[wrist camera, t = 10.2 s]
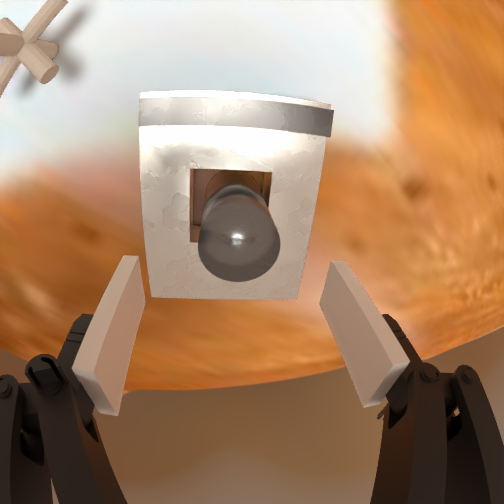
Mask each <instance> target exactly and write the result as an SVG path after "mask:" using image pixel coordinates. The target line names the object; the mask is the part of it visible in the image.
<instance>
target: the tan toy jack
mask: <svg viewBox="0 0 504 504" xmlns="http://www.w3.org/2000/svg"><path fill="white" fill-rule="evenodd" d="M67 3H68V1H66V0H48V1H47V2H46V3H45V4H44V5H43V7H42V8H41V9H40V10H39V11H38V13H37V14H36V15H35V16H34V17H33V19H32V20H31V21H30V23H29V24H28V25H27V27H26V28H25V29H24V31H23V32H22V31H21V30H20V29H19V28H18V27H17V26H16V25H15V24H14V23H13V22H12V21H10V20H9V19H8V18H3V19H1V20H0V56H6V57H5V59H4V60H3V62H2V64H1V65H0V97H1V95H2V93H3V92H4V90H5V88H6V86H7V84H8V83H9V81H10V79H11V78H12V76H13V74H14V73H15V71H16V69H17V68H18V66H19V65H20V63H22V64H23V65H24V66H25V67H26V68H27V69H28V70H29V71H30V72H31V73H32V74H33V75H34V76H35V77H36V78H37V79H38V80H39V81H40V82H41V83H42V84H46V83H48V82H49V81H51V80H52V79H53V78H54V77H55V75H56V74H57V72H58V70H59V66H58V65H57V64H56V63H54V62H53V61H52V59H53V58H54V57H55V56H56V55H57V53H58V50H59V47H58V45H57V44H56V43H52V42H48V41H43V40H39V39H38V38H39V36H40V35H41V34H42V32H43V31H44V30H45V29H46V27H47V26H48V25H49V24H50V22H51V21H52V20H53V19H54V18H55V17H56V15H57V14H58V13H59V12H60V11H61V10H62V9H63V8H64V6H65V5H66V4H67Z"/></svg>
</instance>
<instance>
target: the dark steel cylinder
mask: <svg viewBox="0 0 504 504" xmlns="http://www.w3.org/2000/svg"><path fill="white" fill-rule="evenodd" d="M280 245H281V243H280V236H279V233H278V231H277V228H276V226H275V224H274V221H273V219H272V217H271V214H270V212H269V210H268V207H267V205H266V203H265V201H264V198H263V196H262V194H261V191H260V189H259V187H258V185H257V183H256V181H255V180H254V178H253V177H252V176H251V175H250V174H248V173H247V172H245V171H242V170H224V171H222V172H219V173H218V174H216V175H215V176H214V177H213V178H212V179H211V181H210V182H209V184H208V186H207V190H206V195H205V201H204V207H203V213H202V219H201V226H200V232H199V239H198V253H199V257H200V260H201V262H202V263H203V265H204V266H205V268H206V269H207V270H208V271H209V272H210V273H212V274H213V275H214V276H216V277H218V278H220V279H222V280H226V281H231V282H245V281H250V280H253V279H256V278H258V277H260V276H262V275H263V274H265V273H266V272H267V271H268V270H269V269H270V268H271V267H272V266H273V265H274V263H275V262H276V260H277V258H278V256H279V252H280Z"/></svg>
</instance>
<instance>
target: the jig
mask: <svg viewBox="0 0 504 504" xmlns="http://www.w3.org/2000/svg"><path fill="white" fill-rule="evenodd" d="M330 107H331V104H326V103H320V102H315V101H309V100H303V99H296V98H289V97H282V96H274V95H264V94H254V93H242V92H225V91H159V92H142V93H141V98H140V104H139V127H140V184H141V204H142V218H143V231H144V242H145V251H146V260H147V269H148V276H149V284H150V291H151V297H163V298H190V299H246V300H270V299H297V296H298V291H299V287H300V282H301V278H302V273H303V268H304V264H305V259H306V254H307V249H308V244H309V239H310V234H311V229H312V223H313V218H314V212H315V207H316V201H317V195H318V190H319V184H320V178H321V171H322V165H323V158H324V152H325V145H326V138H327V137H330V136H331V128H332V121H333V113H334V110H330ZM194 169H228V170H248V171H263V172H265V174H264V183H263V193H262V196H263V198H264V201H265V203H266V205H267V207H268V210H269V212H270V214H271V217H272V219H273V221H274V224H275V226H276V228H277V231H278V233H279V236H280V243H281V245H280V252H279V256H278V258H277V260H276V262H275V263H274V265H273V266H272V267H271V268H270V269H269V270H268V271H267V272H266V273H265V274H263V275H262V276H260V277H258V278H256V279H253V280H250V281H245V282H231V281H226V280H222V279H220V278H218V277H216V276H214V275H213V274H212V273H210V272H209V271H208V270H207V269H206V268H205V266H204V265H203V263H202V262H201V260H200V257H199V253H198V239H199V232H200V226H201V225H193V188H194Z"/></svg>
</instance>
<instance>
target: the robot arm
mask: <svg viewBox="0 0 504 504" xmlns="http://www.w3.org/2000/svg"><path fill="white" fill-rule="evenodd" d="M145 303H146V301H145V295H144V289H143V282H142V276H141V269H140V261H139V256H128V255H124V256H123V258H122V259H121V261H120V263H119V265H118V267H117V269H116V271H115V273H114V275H113V277H112V278H111V280H110V282H109V284H108V286H107V288H106V290H105V292H104V295H103V297H102V299H101V301H100V303H99V305H98V307H97V309H96V311H95V314H94V315H90V314H82V315H81V316H80V317H79V318H78V319H77V320H76V321H75V322H74V323H73V325H72V327H71V330H70V333H69V334H68V336H67V338H66V341H65V342H64V344H63V347H62V349H61V351H60V353H59V356H58V358H57V359H56V358H55V357H54V356H51V355H49V354H40V355H38V356H35V357H34V358H33V359H31V360H30V361H29V362H28V364H27V366H26V369H25V375H26V376H27V378H28V379H29V380H30V382H31V383H19V382H18V381H17V380H16V379H15V378H14V377H13V376H11V375H8V374H7V375H2V376H0V504H53V499H52V488H51V479H52V482H53V485H54V489H55V492H56V495H57V498H58V501H59V504H127V501H126V499H125V498H124V495H123V493H122V491H121V489H120V486H119V484H118V482H117V480H116V477H115V475H114V472H113V470H112V467H111V465H110V463H109V460H108V457H107V454H106V451H105V448H104V446H103V443H102V440H101V437H100V434H99V431H98V427H97V424H96V420H95V418H94V416H93V415H92V413H93V409H94V406H95V407H96V409H97V410H98V412H99V413H102V414H108V415H114V416H118V413H119V409H120V404H121V399H122V394H123V389H124V385H125V380H126V376H127V371H128V367H129V363H130V359H131V355H132V351H133V347H134V343H135V339H136V335H137V331H138V328H139V324H140V321H141V317H142V314H143V310H144V307H145ZM320 306H321V309H322V311H323V313H324V315H325V318H326V320H327V322H328V325H329V327H330V329H331V331H332V334H333V336H334V338H335V341H336V343H337V345H338V348H339V350H340V352H341V355H342V357H343V359H344V362H345V364H346V367H347V369H348V371H349V374H350V376H351V379H352V381H353V384H354V386H355V388H356V391H357V393H358V396H359V398H360V401H361V403H362V406H363V408H365V407H369V406H373V405H377V404H380V402H381V401H382V400H383V399H384V397H385V396H386V398H387V400H388V404H387V405H386V406H385V407H384V409H383V410H382V411H381V412H380V413H379V415H378V417H377V419H380V418H381V417H382V416H383V414H384V418H383V420H384V423H383V432H382V441H381V448H380V455H379V461H378V467H377V473H376V478H375V483H374V488H373V493H372V498H371V502H370V504H504V445H503V442H502V439H501V436H500V432H499V429H498V426H497V423H496V420H495V417H494V414H493V412H492V409H491V406H490V403H489V401H488V398H487V396H486V393H485V391H484V388H483V386H482V383H481V381H480V379H479V377H478V374H477V373H476V371H475V370H473V369H472V368H471V367H469V366H467V365H461V366H459V367H458V368H457V369H456V370H455V372H454V373H440V372H439V370H438V369H437V368H436V367H435V366H433V365H432V364H429V363H423V362H422V361H421V359H420V357H419V356H418V354H417V352H416V351H415V349H414V348H413V346H412V344H411V343H410V341H409V340H408V338H406V335H405V334H404V332H403V331H402V329H401V327H400V326H399V324H398V323H397V321H396V320H394V319H393V318H392V317H391V316H390V315H388V314H383V315H381V313H380V311H379V310H378V308H377V307H376V305H375V304H374V302H373V301H372V299H371V298H370V296H369V295H368V293H367V292H366V290H365V289H364V287H363V286H362V284H361V283H360V281H359V280H358V278H357V277H356V276H355V274H354V273H353V271H352V270H351V268H350V267H349V265H348V264H347V263H346V261H345V260H331V263H330V267H329V271H328V275H327V279H326V282H325V286H324V290H323V293H322V297H321V300H320ZM457 408H458V409H459V412H460V413H459V414H458V415H457V416H455V414H454V411H455V410H456V409H457Z"/></svg>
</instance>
